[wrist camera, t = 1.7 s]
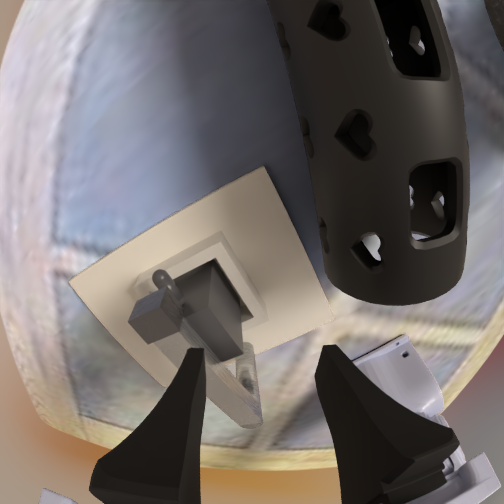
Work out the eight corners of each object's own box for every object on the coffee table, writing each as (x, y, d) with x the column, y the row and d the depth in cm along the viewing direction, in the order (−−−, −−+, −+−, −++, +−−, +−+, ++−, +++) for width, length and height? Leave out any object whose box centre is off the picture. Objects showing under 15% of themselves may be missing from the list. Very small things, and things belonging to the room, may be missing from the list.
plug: (194, 226, 19) (180, 268, 14) (239, 298, 22) (243, 353, 17) (147, 253, 20) (122, 299, 14) (195, 318, 23) (188, 374, 17)
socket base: (263, 165, 19) (268, 171, 16) (333, 314, 24) (342, 333, 22) (71, 278, 21) (57, 294, 19) (164, 383, 27) (161, 402, 24)
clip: (183, 239, 19) (159, 306, 12) (259, 350, 24) (269, 425, 17) (159, 252, 20) (127, 321, 12) (238, 358, 24) (243, 433, 17)
